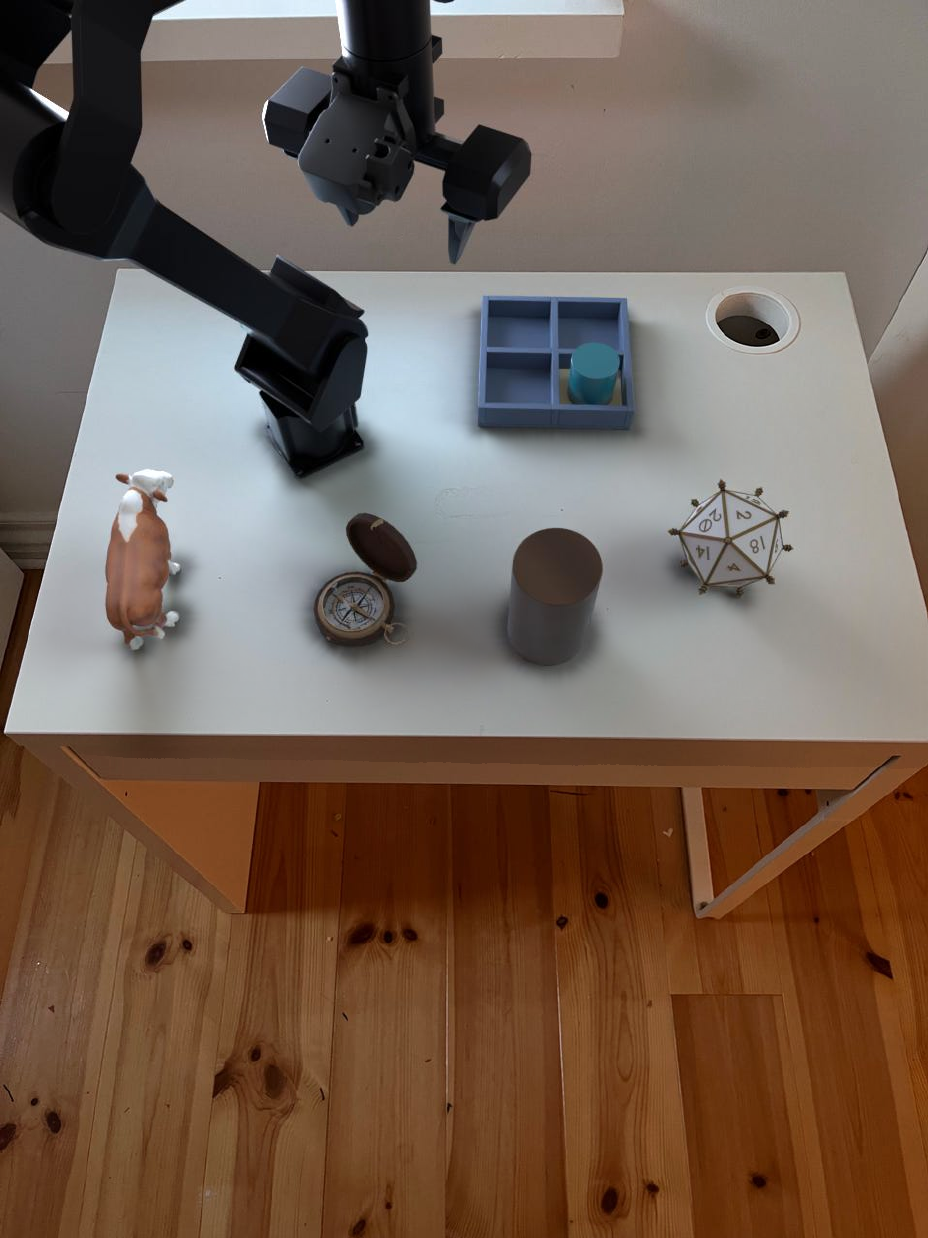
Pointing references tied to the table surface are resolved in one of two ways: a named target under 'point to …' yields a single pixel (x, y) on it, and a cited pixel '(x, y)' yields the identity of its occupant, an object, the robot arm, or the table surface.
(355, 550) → the compass
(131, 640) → the bull figurine
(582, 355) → the cylinder
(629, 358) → the grid
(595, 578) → the stand
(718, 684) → the table surface
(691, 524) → the game die
